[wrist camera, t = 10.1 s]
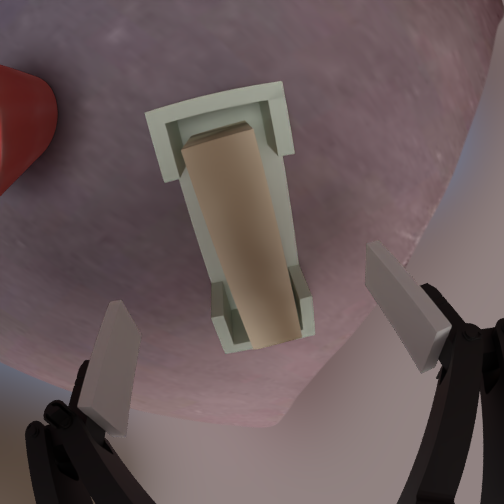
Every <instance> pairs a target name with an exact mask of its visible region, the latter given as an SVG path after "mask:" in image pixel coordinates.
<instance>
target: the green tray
mask: <svg viewBox="0 0 504 504" xmlns="http://www.w3.org/2000/svg"><path fill="white" fill-rule="evenodd" d="M145 116H146V120H147V124H148V128H149V131H150V135H151V139H152V142H153V146H154V149H155V153H156V156H157V160H158V163H159V167H160V170H161V173H162V177H163V180H164V183H166V182H170V181H174V180H177V179H179V181H180V185H181V188H182V192H183V195H184V198H185V202H186V205H187V208H188V212H189V215H190V218H191V222H192V225H193V228H194V231H195V234H196V238H197V241H198V244H199V247H200V250H201V253H202V256H203V259H204V263H205V266H206V269H207V272H208V275H209V278H210V281H211V319H212V322H213V324H214V327H215V330H216V332H217V335H218V337H219V340H220V342H221V345H222V347H223V349H224V352H225V354H228V353H234V352H239V351H244V350H249V349H253V347H252V345H251V342H250V340H249V337H248V334H247V332H246V329H245V327H244V324H243V322H242V319H241V317H240V314H239V311H238V309H237V306H236V304H235V301H234V298H233V296H232V293H231V290H230V288H229V285H228V282H227V280H226V277H225V274H224V272H223V269H222V266H221V264H220V261H219V258H218V255H217V253H216V250H215V247H214V244H213V242H212V239H211V236H210V233H209V231H208V228H207V225H206V222H205V219H204V217H203V214H202V211H201V208H200V205H199V202H198V199H197V196H196V194H195V191H194V188H193V185H192V182H191V179H190V176H189V173H188V170H187V167H186V164H185V161H184V158H183V155H182V152H181V149H182V148H183V146H184V145H185V144H186V142H187V141H188V140H189V138H190V137H191V136H192V135H195V134H199V133H202V132H205V131H208V130H212V129H215V128H219V127H222V126H226V125H229V124H233V123H237V122H240V121H244V120H245V121H246V122H247V123H248V124H249V125H250V126H251V127H252V128H253V129H254V133H255V137H256V141H257V145H258V148H259V152H260V156H261V160H262V164H263V168H264V172H265V176H266V180H267V184H268V188H269V192H270V196H271V200H272V204H273V209H274V213H275V217H276V221H277V225H278V229H279V234H280V238H281V242H282V247H283V251H284V255H285V260H286V264H287V269H288V273H289V278H290V282H291V287H292V291H293V296H294V300H295V305H296V310H297V314H298V319H299V324H300V329H301V334H302V338H304V337H308V336H312V335H315V324H314V312H313V300H312V294H311V292H310V290H309V287H308V285H307V283H306V280H305V278H304V276H303V273H302V271H301V269H300V266H299V263H298V255H297V247H296V240H295V233H294V226H293V219H292V212H291V205H290V198H289V192H288V186H287V179H286V173H285V167H284V161H283V156H284V155H290V154H295V152H294V146H293V140H292V134H291V128H290V122H289V116H288V110H287V105H286V99H285V94H284V89H283V84H282V81H279V82H272V83H266V84H259V85H254V86H248V87H243V88H237V89H232V90H228V91H223V92H218V93H214V94H210V95H205V96H201V97H197V98H193V99H190V100H186V101H182V102H178V103H175V104H171V105H168V106H165V107H161V108H158V109H155V110H152V111H149V112H146V113H145ZM299 339H300V338H299ZM295 340H296V339H295Z"/></svg>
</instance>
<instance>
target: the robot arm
mask: <svg viewBox="0 0 504 504" xmlns="http://www.w3.org/2000/svg"><path fill="white" fill-rule="evenodd" d="M365 285H366V287H367V288H368V290H369V291H370V293H371V294H372V296H373V297H374V299H375V300H376V302H377V303H378V305H379V306H380V308H381V309H382V311H383V313H384V314H385V315H386V317H387V319H388V320H389V322H390V323H391V325H392V326H393V328H394V330H395V331H396V333H397V335H398V336H399V338H400V339H401V341H402V343H403V344H404V346H405V348H406V349H407V351H408V352H409V354H410V356H411V357H412V359H413V361H414V362H415V364H416V366H417V368H418V369H419V371H420V373H424V372H426V371H428V370H430V369H432V368H434V367H435V366H436V364H437V361H438V359H439V361H440V362H441V364H442V367H441V369H440V371H439V373H438V375H437V377H436V379H438V378H439V379H438V384H437V388H436V392H435V396H434V401H433V405H432V408H431V412H430V416H429V419H428V423H427V426H426V429H425V433H424V436H423V439H422V442H421V445H420V448H419V451H418V454H417V456H416V459H415V462H414V465H413V467H412V470H411V472H410V475H409V477H408V480H407V482H406V485H405V487H404V489H403V491H402V494H401V496H400V498H399V500H398V502H397V504H455V503H454V498H455V495H456V492H457V489H458V486H459V483H460V480H461V477H462V473H463V470H464V467H465V463H466V459H467V455H468V451H469V447H470V443H471V438H472V434H473V429H474V424H475V419H476V413H477V406H478V399H479V392H480V394H481V404H482V418H483V444H484V445H483V481H482V493H481V503H480V504H504V318H502V319H500V320H498V322H497V323H496V326H495V327H493V328H487V329H480V328H479V327H477V326H476V325H474V324H471V323H465V322H464V321H463V320H462V318H461V317H460V316H459V315H458V313H457V312H456V311H455V310H454V309H453V307H452V306H451V305H450V304H449V303H448V302H447V300H446V299H445V298H444V297H442V295H441V293H440V292H439V291H438V290H437V289H436V288H435V287H433V286H431V285H429V284H428V283H426V284H423V285H421V286H420V285H419V284H418V283H417V282H416V281H415V280H414V279H413V277H412V276H411V275H410V274H409V273H408V272H407V270H406V269H405V268H404V267H403V266H402V265H401V264H400V263H399V261H398V260H397V259H396V258H395V257H394V256H393V255H392V254H391V253H390V252H389V251H388V249H387V248H386V247H385V246H384V245H383V244H382V243H381V242H380V241H379V240H378V241H374V242H370V243H366V272H365ZM141 337H142V334H141V333H140V331H139V329H138V328H137V326H136V324H135V323H134V321H133V319H132V317H131V316H130V314H129V312H128V310H127V309H126V307H125V305H124V303H123V301H122V300H117V301H112V302H109V305H108V308H107V310H106V313H105V316H104V319H103V322H102V324H101V327H100V330H99V333H98V336H97V339H96V342H95V345H94V349H93V352H92V355H91V358H90V360H85V361H84V362H83V364H82V365H81V367H80V368H79V371H78V374H77V379H76V381H75V386H74V388H73V392H72V395H71V399H70V403H69V406H67V405H66V404H65V403H64V402H63V401H60V400H54V401H52V402H51V403H49V404H48V405H47V407H46V409H45V411H44V420H45V421H46V422H47V423H49V425H46V426H44V425H43V424H42V423H41V422H39V421H33V422H32V423H30V424H29V425H28V427H27V429H26V432H25V440H26V449H27V457H28V463H29V469H30V476H31V481H32V487H33V491H34V496H35V500H36V504H93V502H92V499H93V500H94V502H95V504H156V503H155V502H154V501H153V500H152V498H151V497H150V496H149V495H148V494H147V493H146V491H145V490H144V489H143V488H142V486H141V485H140V484H139V483H138V482H137V480H136V479H135V478H134V476H133V475H132V474H131V472H130V471H129V470H128V469H127V467H126V466H125V464H124V463H123V462H122V461H121V459H120V458H119V456H118V455H117V453H116V452H115V450H114V449H113V447H112V446H111V445H110V443H109V441H108V440H107V439H106V438H105V431H106V432H107V433H108V434H109V435H111V436H112V437H126V433H127V425H128V417H129V409H130V402H131V395H132V388H133V382H134V376H135V370H136V364H137V358H138V353H139V347H140V342H141ZM91 497H92V499H91Z"/></svg>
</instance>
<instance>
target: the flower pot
mask: <svg viewBox="0 0 504 504" xmlns="http://www.w3.org/2000/svg"><path fill="white" fill-rule="evenodd" d="M57 118H58V109H57V102H56V98H55V95H54V93H53V91H52V89H51V88H50V86H49V85H48V84H47V83H46V82H45V81H44V80H42V79H41V78H39V77H36V76H33V75H30V74H27V73H24V72H22V71H19V70H16V69H13V68H9V67H6V66H3V65H0V196H1V195H2V194H3V193H4V192H5V191H6V190H7V189H8V188H9V187H10V186H11V185H12V184H13V183H14V182H15V181H16V180H17V179H18V178H19V177H20V176H21V175H22V174H23V173H24V172H25V171H26V170H27V168H28V167H29V166H30V165H31V164H32V163H33V162H34V161H35V160H36V159H37V158H38V157H39V156H40V155H41V154H42V153H43V152H44V151H45V150H46V148H47V147H48V145H49V144H50V142H51V140H52V138H53V136H54V133H55V129H56V125H57Z"/></svg>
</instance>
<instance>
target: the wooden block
mask: <svg viewBox="0 0 504 504" xmlns="http://www.w3.org/2000/svg"><path fill="white" fill-rule="evenodd" d="M181 152H182V155H183V158H184V161H185V164H186V167H187V170H188V173H189V176H190V179H191V182H192V185H193V188H194V191H195V194H196V196H197V199H198V202H199V205H200V208H201V211H202V214H203V217H204V219H205V222H206V225H207V228H208V231H209V233H210V236H211V239H212V242H213V244H214V247H215V250H216V253H217V255H218V258H219V261H220V264H221V266H222V269H223V272H224V274H225V277H226V280H227V282H228V285H229V288H230V290H231V293H232V296H233V298H234V301H235V304H236V306H237V309H238V311H239V314H240V317H241V319H242V322H243V324H244V327H245V329H246V332H247V334H248V337H249V340H250V342H251V345H252V347H253V350H256V349H260V348H264V347H268V346H272V345H276V344H280V343H284V342H288V341H291V340H295V339H299V338H302V334H301V329H300V324H299V319H298V314H297V310H296V305H295V300H294V296H293V291H292V287H291V282H290V278H289V273H288V269H287V264H286V260H285V255H284V251H283V247H282V242H281V238H280V234H279V229H278V225H277V221H276V217H275V213H274V209H273V204H272V200H271V196H270V192H269V188H268V184H267V180H266V176H265V172H264V168H263V164H262V160H261V156H260V152H259V148H258V145H257V141H256V137H255V133H254V129H253V128H252V127H251V126H250V125H249V124H248V123H247V122H246V121H245V120H244V121H240V122H237V123H233V124H229V125H226V126H222V127H219V128H215V129H212V130H208V131H205V132H202V133H199V134H195V135H192V136H191V137H190V138H189V140H188V141H187V142H186V144H185V145H184V146H183V148H182V149H181Z"/></svg>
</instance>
